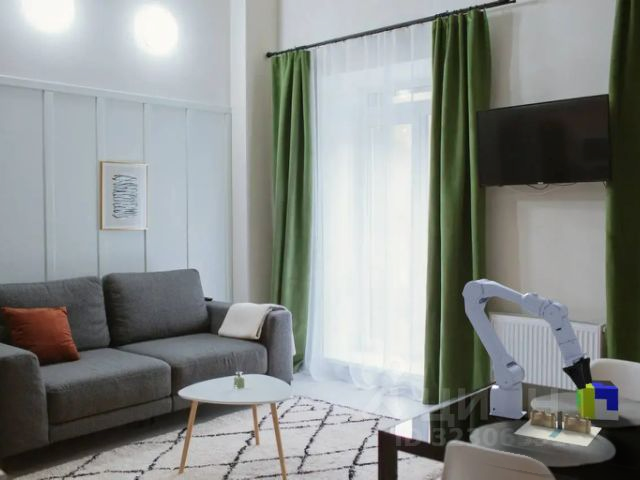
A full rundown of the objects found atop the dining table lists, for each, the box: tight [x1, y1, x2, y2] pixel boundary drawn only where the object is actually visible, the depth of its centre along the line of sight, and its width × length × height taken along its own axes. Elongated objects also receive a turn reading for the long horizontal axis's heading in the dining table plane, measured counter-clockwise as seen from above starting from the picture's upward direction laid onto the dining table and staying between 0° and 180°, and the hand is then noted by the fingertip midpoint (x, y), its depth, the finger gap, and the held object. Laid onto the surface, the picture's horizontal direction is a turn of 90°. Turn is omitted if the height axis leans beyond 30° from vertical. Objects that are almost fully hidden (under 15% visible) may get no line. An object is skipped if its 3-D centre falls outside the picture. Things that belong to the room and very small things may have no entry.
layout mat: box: [513, 419, 602, 447], centre depth 189 cm, size 20×18×1 cm
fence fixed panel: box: [529, 408, 563, 429], centre depth 192 cm, size 9×1×5 cm, turn 55°
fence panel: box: [563, 413, 592, 434], centre depth 187 cm, size 7×1×4 cm, turn 55°
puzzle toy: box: [576, 379, 619, 421], centre depth 203 cm, size 10×10×10 cm
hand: (585, 386), depth 191 cm, fingers open, 7 cm apart
